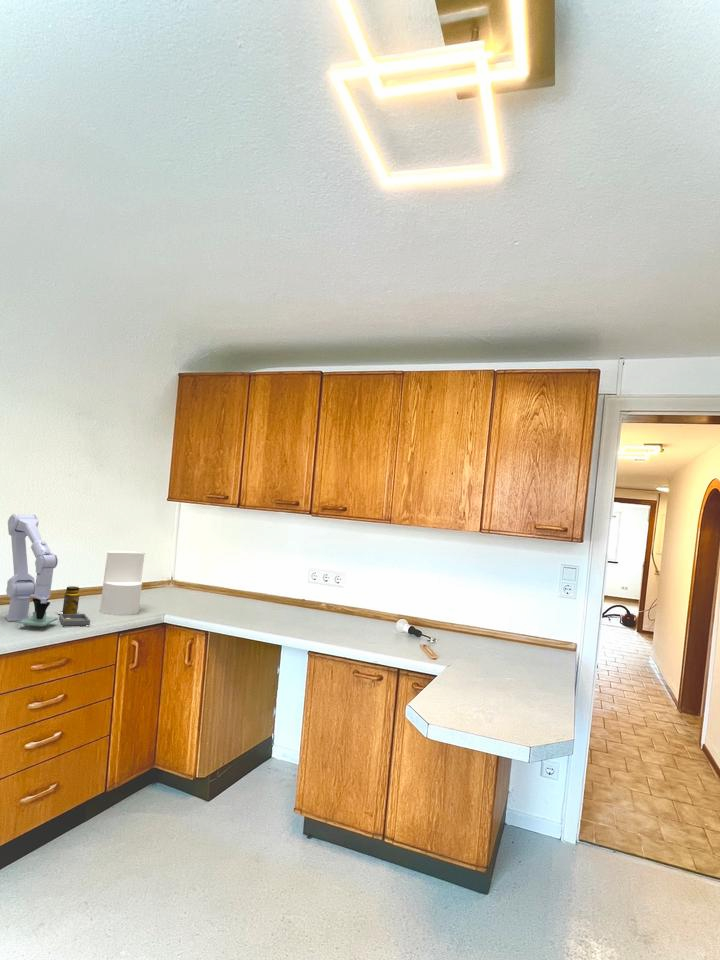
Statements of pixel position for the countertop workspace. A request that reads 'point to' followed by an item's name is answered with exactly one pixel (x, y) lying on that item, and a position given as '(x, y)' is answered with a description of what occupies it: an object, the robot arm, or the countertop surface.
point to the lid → (37, 620)
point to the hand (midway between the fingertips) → (38, 617)
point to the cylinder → (122, 582)
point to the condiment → (71, 600)
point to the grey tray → (74, 619)
